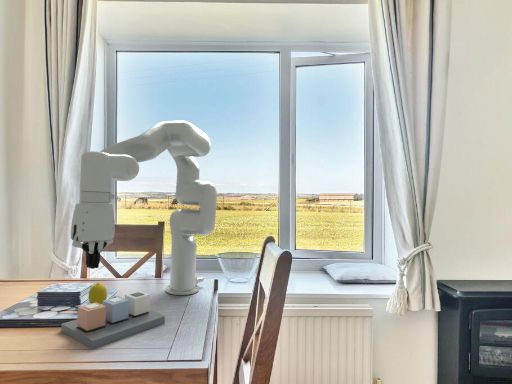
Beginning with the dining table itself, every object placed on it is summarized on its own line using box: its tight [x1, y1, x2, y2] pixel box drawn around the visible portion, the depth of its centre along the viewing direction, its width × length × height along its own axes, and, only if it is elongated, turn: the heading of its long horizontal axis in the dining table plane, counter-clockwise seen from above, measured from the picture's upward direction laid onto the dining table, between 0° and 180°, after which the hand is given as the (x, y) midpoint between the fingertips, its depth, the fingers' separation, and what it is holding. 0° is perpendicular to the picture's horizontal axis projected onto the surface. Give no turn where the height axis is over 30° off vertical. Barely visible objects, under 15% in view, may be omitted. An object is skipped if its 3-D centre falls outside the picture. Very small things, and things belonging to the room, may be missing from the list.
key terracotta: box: [77, 302, 106, 332], centre depth 94 cm, size 5×5×5 cm
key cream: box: [124, 291, 150, 317], centre depth 105 cm, size 5×5×5 cm
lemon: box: [87, 282, 108, 305], centre depth 114 cm, size 6×6×8 cm
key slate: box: [102, 296, 129, 324], centre depth 99 cm, size 5×5×5 cm
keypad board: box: [60, 309, 166, 350], centre depth 99 cm, size 22×16×2 cm
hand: (92, 267), depth 93 cm, fingers closed
